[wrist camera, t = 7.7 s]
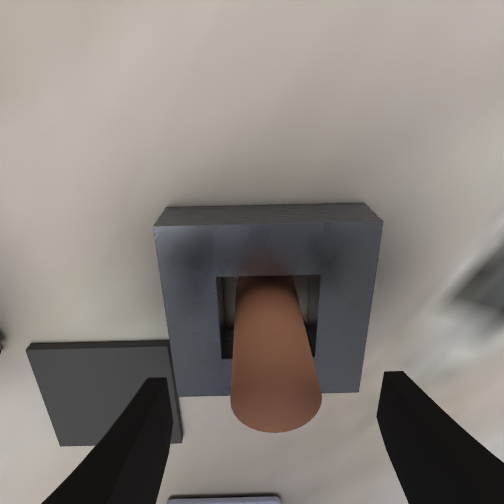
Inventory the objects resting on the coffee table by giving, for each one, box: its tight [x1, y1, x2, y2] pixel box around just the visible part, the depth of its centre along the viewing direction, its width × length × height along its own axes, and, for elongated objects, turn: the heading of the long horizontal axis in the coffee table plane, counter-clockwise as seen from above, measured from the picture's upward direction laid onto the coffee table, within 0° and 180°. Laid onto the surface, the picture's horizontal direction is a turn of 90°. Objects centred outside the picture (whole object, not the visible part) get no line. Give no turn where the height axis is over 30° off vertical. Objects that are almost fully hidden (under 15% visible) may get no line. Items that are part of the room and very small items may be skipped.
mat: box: [26, 340, 183, 446], centre depth 20 cm, size 8×8×1 cm
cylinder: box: [231, 275, 322, 433], centre depth 15 cm, size 3×3×7 cm
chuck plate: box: [153, 203, 383, 397], centre depth 17 cm, size 9×9×2 cm
